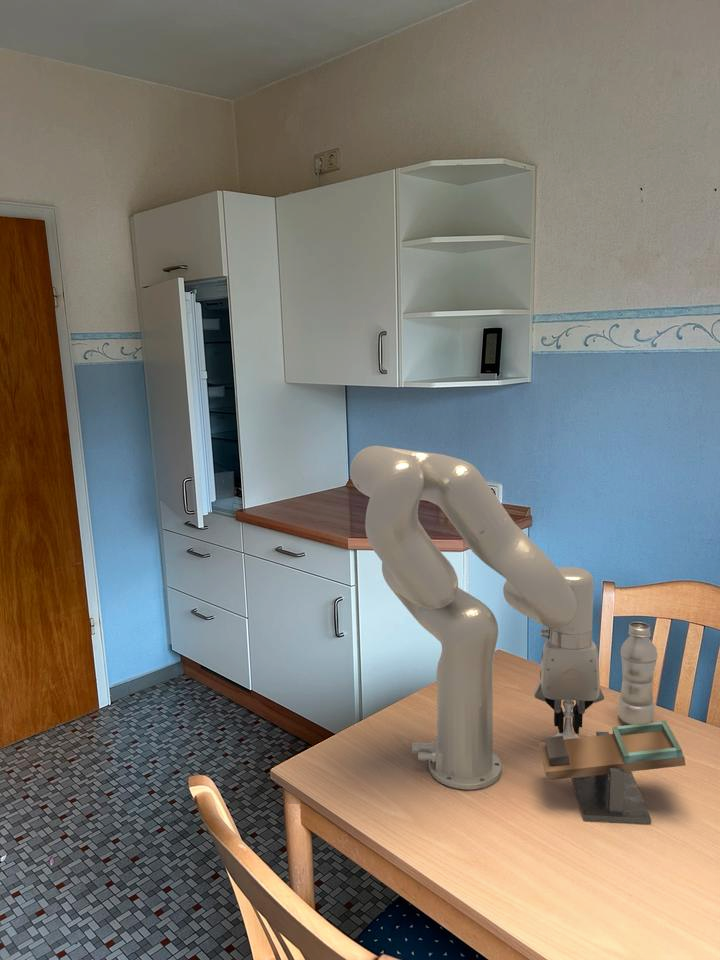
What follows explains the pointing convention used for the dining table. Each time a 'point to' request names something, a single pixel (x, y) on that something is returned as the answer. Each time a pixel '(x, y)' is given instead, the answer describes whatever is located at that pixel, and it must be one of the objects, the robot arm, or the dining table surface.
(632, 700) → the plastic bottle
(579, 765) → the balance beam
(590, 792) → the stand
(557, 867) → the dining table surface
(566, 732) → the chess piece
